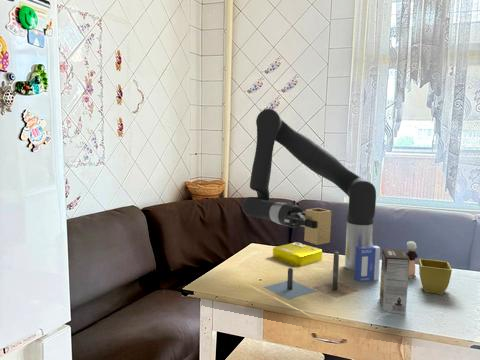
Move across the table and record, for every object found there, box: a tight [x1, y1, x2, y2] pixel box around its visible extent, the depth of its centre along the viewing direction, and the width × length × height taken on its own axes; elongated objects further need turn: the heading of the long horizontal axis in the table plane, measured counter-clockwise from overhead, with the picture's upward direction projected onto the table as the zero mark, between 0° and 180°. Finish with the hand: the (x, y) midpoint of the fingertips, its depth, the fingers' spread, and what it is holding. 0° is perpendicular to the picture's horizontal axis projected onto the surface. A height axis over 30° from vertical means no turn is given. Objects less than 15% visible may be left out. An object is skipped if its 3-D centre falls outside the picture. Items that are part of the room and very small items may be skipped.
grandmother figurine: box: [406, 240, 419, 279], centre depth 146 cm, size 8×4×13 cm, turn 135°
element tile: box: [272, 241, 323, 267], centre depth 166 cm, size 15×15×5 cm
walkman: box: [354, 245, 381, 282], centre depth 141 cm, size 8×3×12 cm, turn 102°
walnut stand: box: [311, 251, 358, 298], centre depth 132 cm, size 10×10×12 cm
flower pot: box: [418, 258, 453, 295], centre depth 133 cm, size 9×9×9 cm
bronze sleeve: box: [303, 207, 333, 246], centre depth 130 cm, size 6×6×10 cm
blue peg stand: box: [263, 267, 317, 300], centre depth 131 cm, size 12×12×7 cm
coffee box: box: [379, 248, 410, 315], centre depth 120 cm, size 9×6×16 cm
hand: (322, 224), depth 128 cm, fingers closed on bronze sleeve, 5 cm apart
